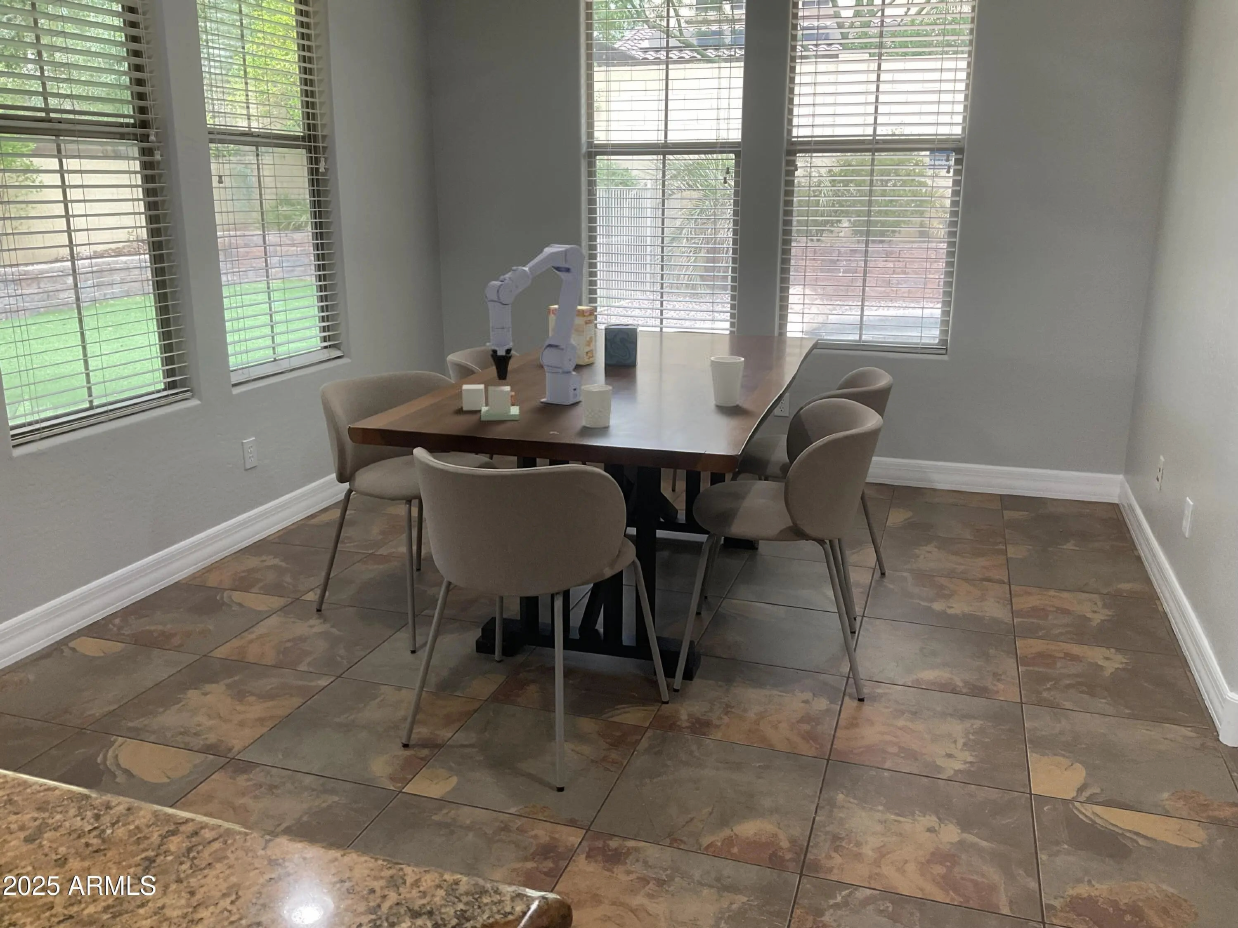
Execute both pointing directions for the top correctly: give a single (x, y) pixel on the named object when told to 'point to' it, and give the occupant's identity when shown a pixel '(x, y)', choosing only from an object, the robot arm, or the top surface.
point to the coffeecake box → (579, 333)
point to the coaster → (500, 414)
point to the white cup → (596, 405)
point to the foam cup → (726, 379)
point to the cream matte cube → (499, 399)
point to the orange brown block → (512, 398)
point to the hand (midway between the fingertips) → (502, 377)
